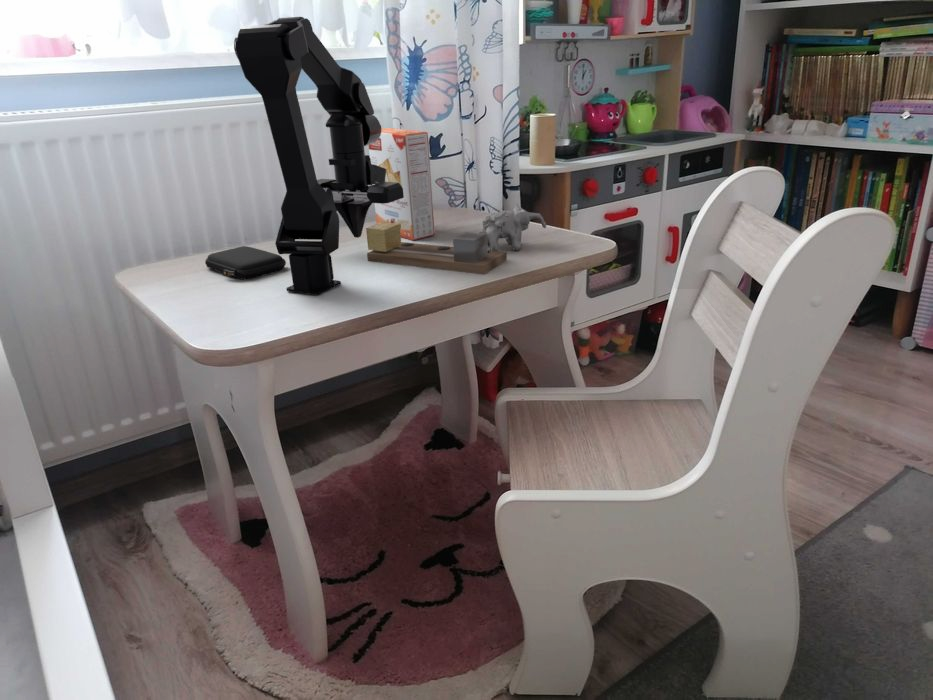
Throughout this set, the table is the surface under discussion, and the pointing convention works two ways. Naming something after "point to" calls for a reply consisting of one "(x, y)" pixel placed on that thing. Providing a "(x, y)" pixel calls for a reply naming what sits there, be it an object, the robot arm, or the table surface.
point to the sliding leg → (383, 236)
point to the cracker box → (406, 180)
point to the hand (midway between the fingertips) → (357, 237)
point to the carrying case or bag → (245, 262)
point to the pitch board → (445, 255)
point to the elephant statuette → (508, 226)
